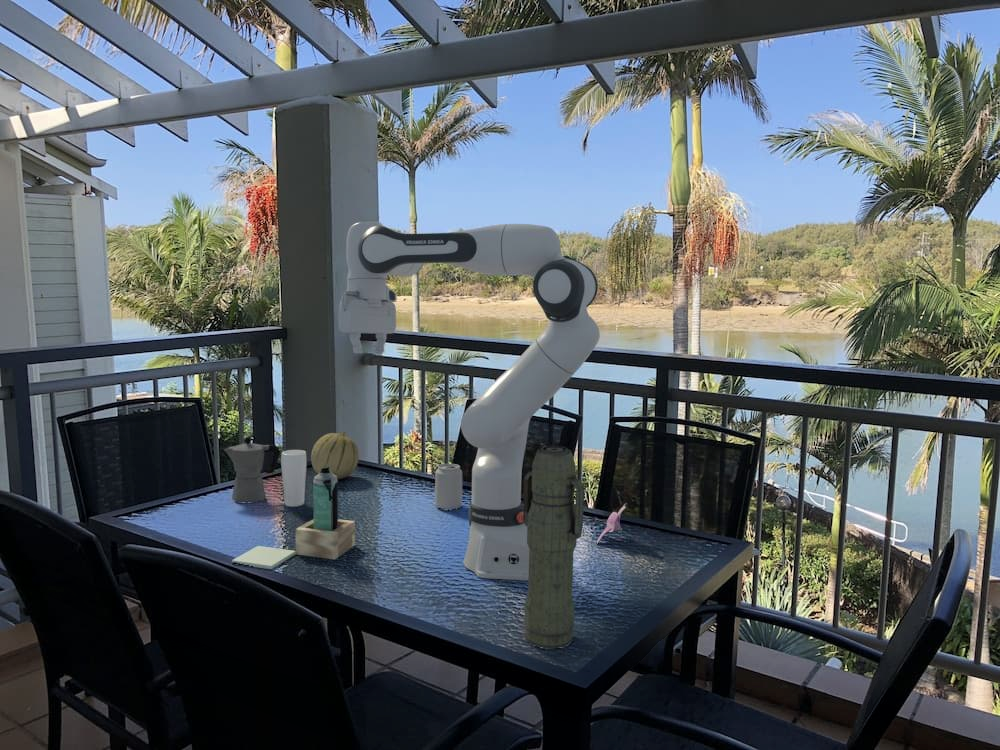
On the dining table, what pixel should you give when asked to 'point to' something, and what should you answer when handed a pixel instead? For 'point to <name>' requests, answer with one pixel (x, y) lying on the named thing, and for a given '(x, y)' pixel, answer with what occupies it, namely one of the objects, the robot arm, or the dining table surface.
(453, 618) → the dining table surface
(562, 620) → the olive green cylinder
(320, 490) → the spray can
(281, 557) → the sage pad
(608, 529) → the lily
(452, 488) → the can
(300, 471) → the drinking glass
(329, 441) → the cantaloupe
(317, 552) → the can holder
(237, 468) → the coffeepot
